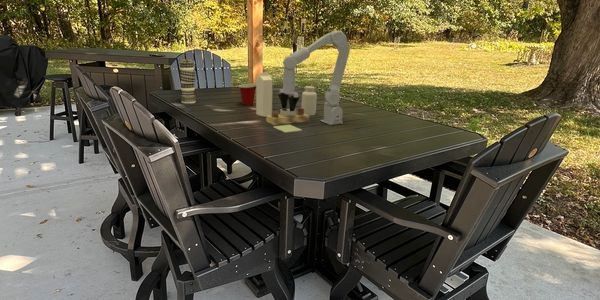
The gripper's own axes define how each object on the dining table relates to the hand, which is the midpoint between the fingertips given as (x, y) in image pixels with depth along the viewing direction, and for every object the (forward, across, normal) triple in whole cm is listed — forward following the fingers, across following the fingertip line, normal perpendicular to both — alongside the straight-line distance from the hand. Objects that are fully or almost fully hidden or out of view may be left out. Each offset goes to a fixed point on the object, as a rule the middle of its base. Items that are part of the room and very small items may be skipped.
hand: (288, 109), depth 191 cm
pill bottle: (+6, -10, +19) cm, 22 cm away
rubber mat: (+6, +13, -8) cm, 16 cm away
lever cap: (+3, 0, 0) cm, 3 cm away
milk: (+6, -18, -4) cm, 19 cm away
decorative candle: (+6, -68, -29) cm, 74 cm away
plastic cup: (+6, -47, 0) cm, 47 cm away
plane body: (+6, 0, 0) cm, 6 cm away
